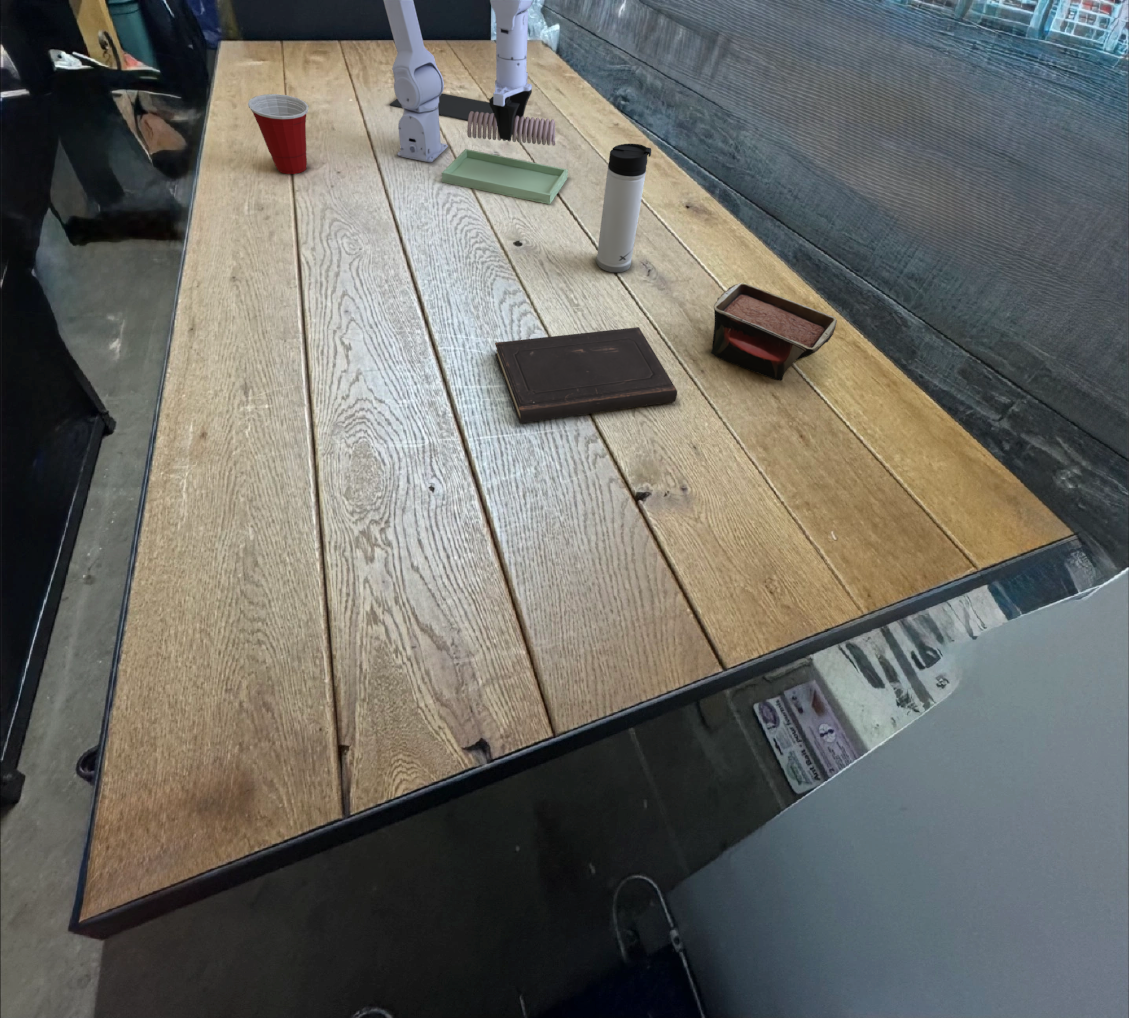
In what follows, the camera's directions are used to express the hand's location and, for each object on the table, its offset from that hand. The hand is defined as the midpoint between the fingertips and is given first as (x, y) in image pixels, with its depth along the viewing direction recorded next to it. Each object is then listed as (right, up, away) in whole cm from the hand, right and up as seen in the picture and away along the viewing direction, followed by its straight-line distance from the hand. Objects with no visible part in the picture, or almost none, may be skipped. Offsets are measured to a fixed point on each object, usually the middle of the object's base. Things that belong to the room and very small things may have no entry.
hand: (510, 133), depth 132 cm
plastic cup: (-44, -7, +1) cm, 45 cm away
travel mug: (+20, -32, -14) cm, 40 cm away
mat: (-18, +24, +29) cm, 42 cm away
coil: (0, -1, +1) cm, 2 cm away
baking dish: (+42, -51, -28) cm, 72 cm away
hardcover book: (+14, -57, -36) cm, 69 cm away
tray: (-1, -7, +5) cm, 9 cm away
